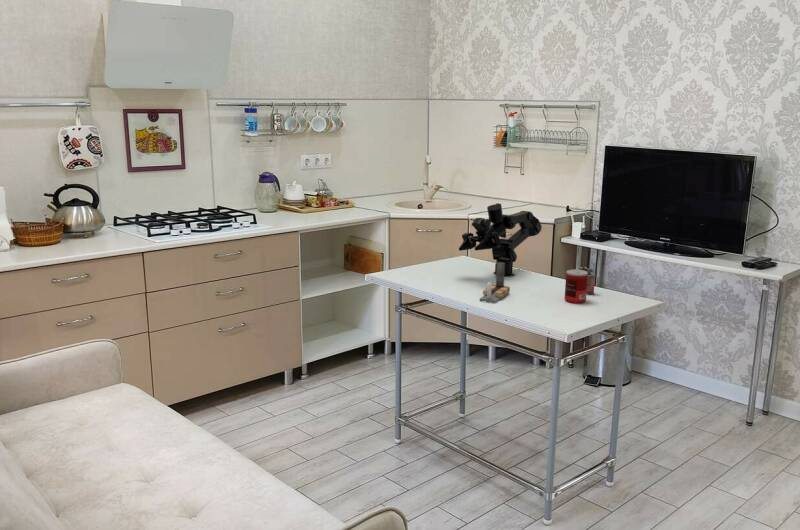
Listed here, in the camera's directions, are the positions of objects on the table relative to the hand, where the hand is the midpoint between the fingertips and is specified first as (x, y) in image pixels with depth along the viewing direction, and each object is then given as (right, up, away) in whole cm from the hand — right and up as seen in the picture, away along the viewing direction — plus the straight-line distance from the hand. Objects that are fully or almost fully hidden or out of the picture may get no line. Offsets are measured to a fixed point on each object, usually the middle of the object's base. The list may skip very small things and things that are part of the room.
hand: (467, 249), depth 278 cm
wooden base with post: (+10, -17, -13) cm, 23 cm away
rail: (+9, -18, -14) cm, 25 cm away
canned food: (+38, -19, -18) cm, 46 cm away
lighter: (+44, -17, -7) cm, 48 cm away
